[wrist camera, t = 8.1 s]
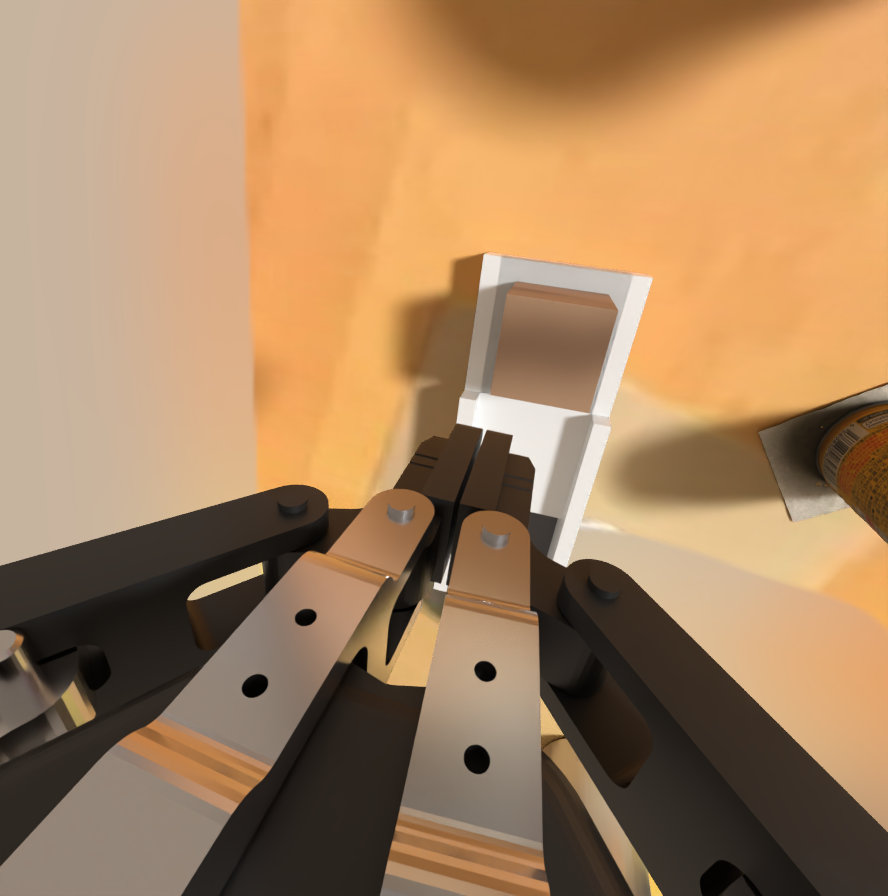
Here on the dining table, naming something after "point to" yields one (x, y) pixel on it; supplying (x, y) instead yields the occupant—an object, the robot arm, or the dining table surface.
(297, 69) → the dining table surface
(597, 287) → the channel
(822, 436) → the condiment
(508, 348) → the walnut block
